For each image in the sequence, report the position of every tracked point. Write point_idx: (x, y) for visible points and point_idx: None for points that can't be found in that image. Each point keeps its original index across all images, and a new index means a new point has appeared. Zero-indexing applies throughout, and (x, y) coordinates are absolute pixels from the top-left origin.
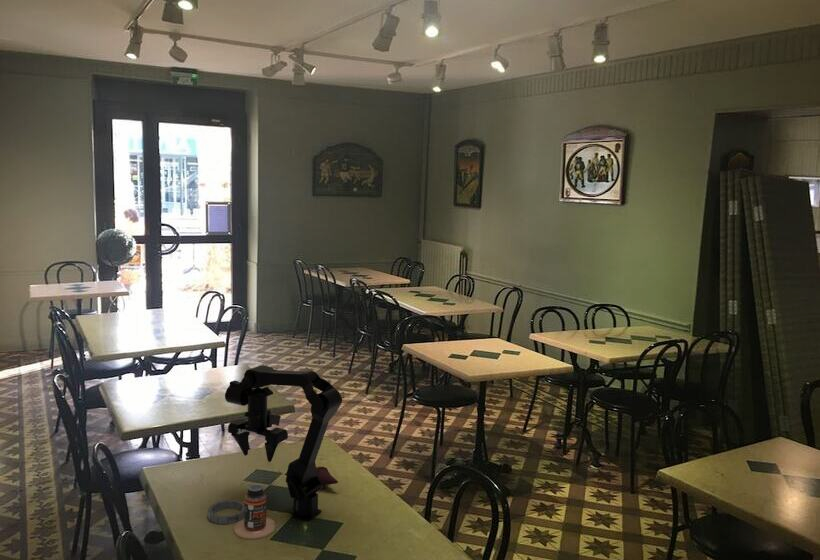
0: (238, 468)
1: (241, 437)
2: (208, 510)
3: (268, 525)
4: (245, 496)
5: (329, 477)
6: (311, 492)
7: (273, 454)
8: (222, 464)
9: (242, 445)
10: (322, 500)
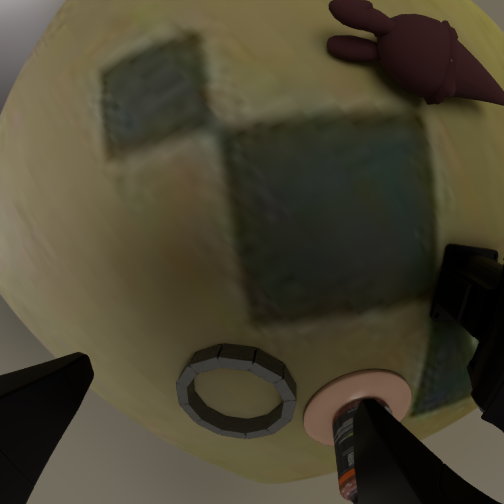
0: (57, 110)
1: (6, 489)
2: (195, 421)
3: (393, 399)
4: (346, 499)
5: (491, 88)
6: None
7: (413, 442)
8: (21, 126)
9: (47, 450)
10: (473, 171)
